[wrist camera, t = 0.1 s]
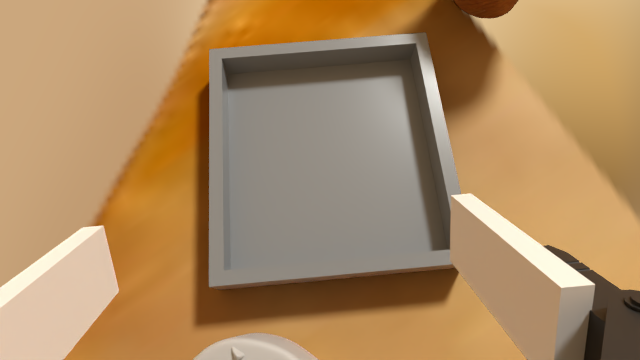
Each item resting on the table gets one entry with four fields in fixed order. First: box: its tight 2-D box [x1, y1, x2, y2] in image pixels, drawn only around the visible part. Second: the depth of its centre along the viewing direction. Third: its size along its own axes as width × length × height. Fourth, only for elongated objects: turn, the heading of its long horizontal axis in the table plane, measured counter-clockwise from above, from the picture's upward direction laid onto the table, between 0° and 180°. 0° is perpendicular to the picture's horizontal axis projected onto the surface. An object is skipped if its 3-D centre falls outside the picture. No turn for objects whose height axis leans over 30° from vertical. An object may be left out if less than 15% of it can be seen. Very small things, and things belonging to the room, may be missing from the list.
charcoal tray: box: [209, 32, 461, 290], centre depth 31 cm, size 19×18×3 cm
